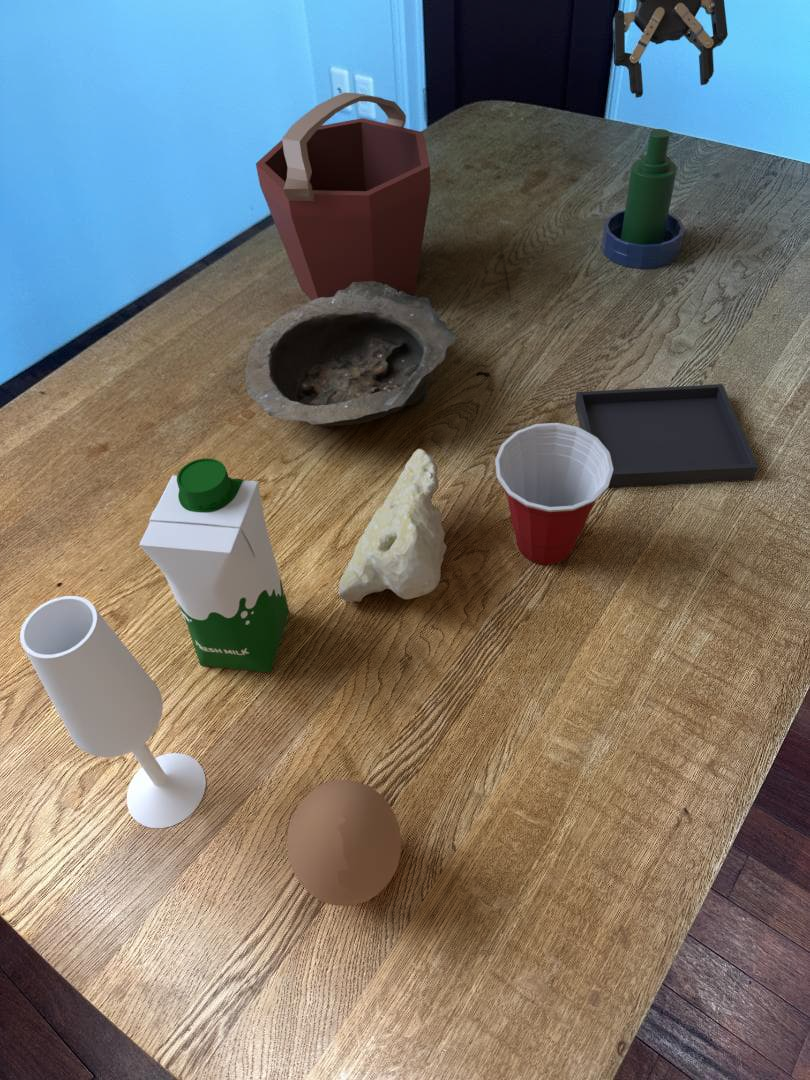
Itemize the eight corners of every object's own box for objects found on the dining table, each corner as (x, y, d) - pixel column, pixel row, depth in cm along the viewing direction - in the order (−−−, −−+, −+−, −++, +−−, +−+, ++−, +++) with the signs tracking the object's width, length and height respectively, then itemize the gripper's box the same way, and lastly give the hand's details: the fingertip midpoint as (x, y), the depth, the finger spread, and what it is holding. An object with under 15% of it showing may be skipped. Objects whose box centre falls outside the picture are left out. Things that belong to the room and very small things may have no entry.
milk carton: (300, 605, 81) (262, 458, 66) (277, 684, 75) (229, 542, 60) (216, 597, 82) (160, 451, 67) (187, 674, 76) (118, 533, 61)
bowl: (668, 230, 123) (673, 205, 120) (686, 269, 116) (692, 243, 113) (596, 235, 124) (599, 210, 121) (608, 274, 116) (612, 248, 113)
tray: (718, 397, 97) (722, 383, 96) (753, 480, 88) (758, 467, 87) (574, 404, 98) (576, 391, 97) (594, 488, 89) (596, 475, 87)
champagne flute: (213, 752, 71) (125, 583, 53) (197, 829, 66) (95, 672, 48) (137, 752, 71) (25, 583, 53) (117, 828, 67) (-14, 672, 49)
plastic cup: (486, 581, 81) (488, 498, 72) (497, 503, 88) (500, 418, 79) (596, 592, 79) (613, 509, 70) (599, 512, 86) (614, 426, 77)
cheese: (398, 657, 78) (506, 549, 74) (340, 622, 75) (449, 506, 71) (376, 573, 91) (466, 477, 87) (325, 540, 88) (417, 438, 84)
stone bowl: (487, 367, 103) (486, 307, 96) (377, 500, 92) (367, 443, 84) (332, 312, 113) (320, 253, 106) (215, 426, 101) (193, 369, 94)
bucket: (339, 351, 108) (312, 162, 89) (244, 289, 119) (202, 110, 101) (468, 277, 118) (469, 93, 99) (370, 226, 129) (353, 53, 111)
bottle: (656, 237, 121) (677, 122, 109) (665, 258, 117) (688, 141, 105) (615, 239, 122) (632, 125, 109) (623, 260, 118) (642, 144, 105)
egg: (407, 816, 66) (398, 753, 57) (402, 925, 60) (392, 873, 52) (306, 814, 66) (283, 751, 58) (292, 922, 61) (264, 870, 53)
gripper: (610, -47, 103) (621, 92, 107) (727, -73, 101) (734, 70, 104) (604, -22, 110) (614, 107, 114) (714, -47, 108) (720, 86, 112)
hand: (672, 89), depth 109 cm, fingers open, 8 cm apart
